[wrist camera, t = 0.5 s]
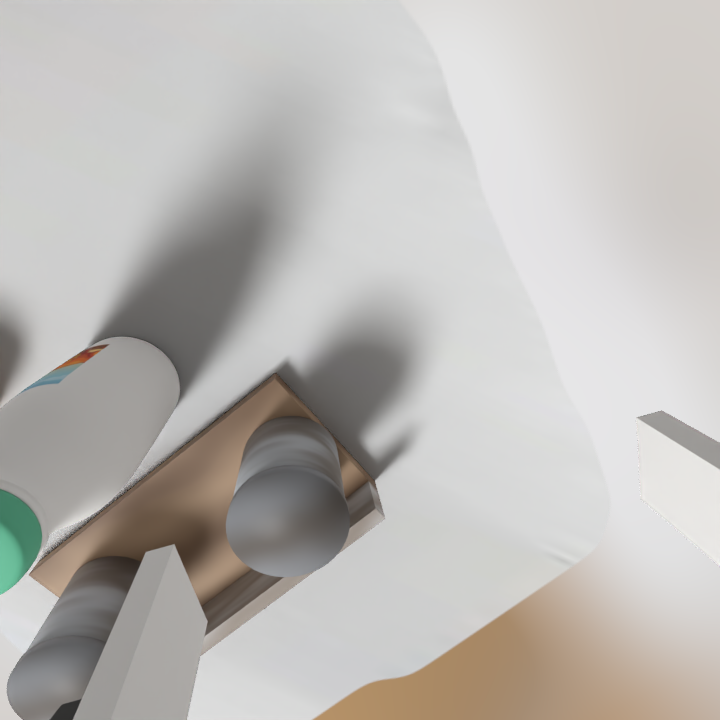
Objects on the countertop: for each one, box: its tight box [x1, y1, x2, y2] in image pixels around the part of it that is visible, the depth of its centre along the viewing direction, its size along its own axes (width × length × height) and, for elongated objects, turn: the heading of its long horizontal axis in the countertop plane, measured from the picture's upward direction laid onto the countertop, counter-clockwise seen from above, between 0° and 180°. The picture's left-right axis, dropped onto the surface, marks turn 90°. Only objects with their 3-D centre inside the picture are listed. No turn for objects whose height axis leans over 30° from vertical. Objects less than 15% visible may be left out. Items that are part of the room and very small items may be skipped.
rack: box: [7, 373, 385, 720], centre depth 37 cm, size 13×27×10 cm, turn 128°
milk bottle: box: [0, 337, 180, 595], centre depth 28 cm, size 8×8×20 cm
